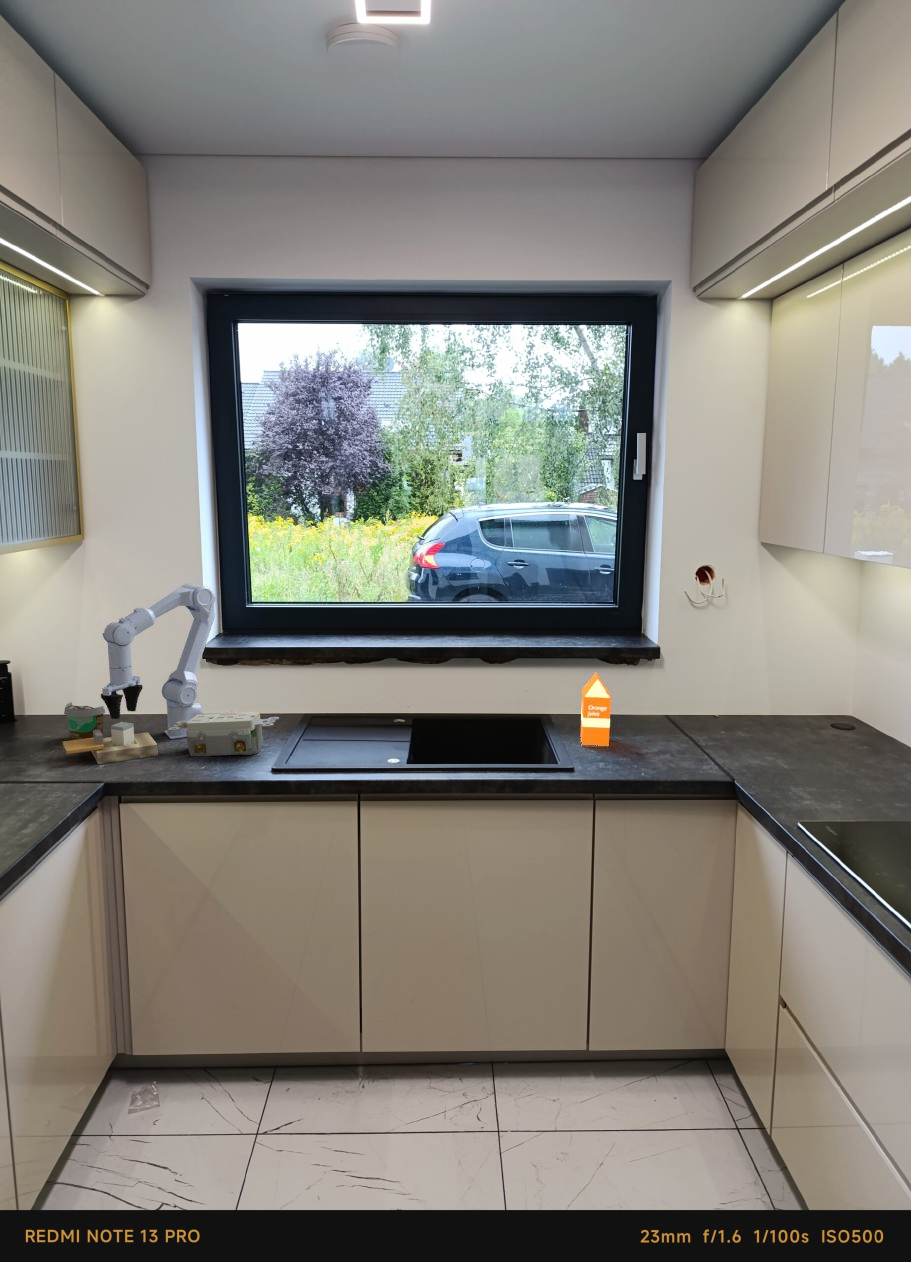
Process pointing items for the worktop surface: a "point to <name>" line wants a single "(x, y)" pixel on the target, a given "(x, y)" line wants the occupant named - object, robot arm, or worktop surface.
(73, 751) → the shutter
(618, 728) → the worktop surface
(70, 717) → the food container
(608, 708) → the orange juice
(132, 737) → the grey upright block
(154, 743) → the socket block
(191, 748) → the electrical outlet
